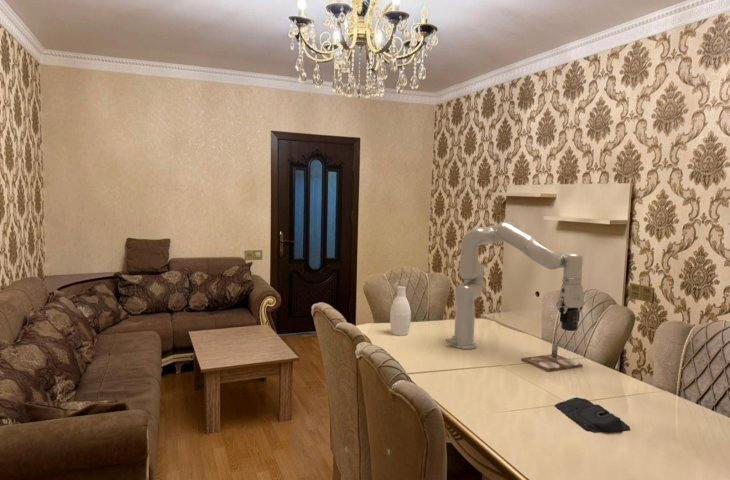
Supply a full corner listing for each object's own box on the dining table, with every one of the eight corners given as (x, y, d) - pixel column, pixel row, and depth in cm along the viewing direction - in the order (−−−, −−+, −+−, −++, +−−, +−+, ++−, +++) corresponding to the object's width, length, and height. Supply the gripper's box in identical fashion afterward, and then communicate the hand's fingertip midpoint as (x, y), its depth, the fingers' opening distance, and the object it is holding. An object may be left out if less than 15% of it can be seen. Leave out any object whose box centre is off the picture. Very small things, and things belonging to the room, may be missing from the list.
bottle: (408, 337, 252) (410, 289, 251) (387, 335, 255) (389, 287, 253) (411, 332, 263) (413, 286, 262) (391, 330, 266) (392, 284, 264)
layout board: (548, 371, 204) (549, 355, 204) (521, 360, 219) (522, 344, 218) (582, 367, 212) (583, 351, 212) (554, 356, 227) (555, 341, 227)
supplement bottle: (574, 327, 217) (576, 301, 216) (579, 331, 210) (581, 304, 209) (558, 327, 217) (560, 300, 216) (563, 330, 210) (565, 303, 210)
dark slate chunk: (590, 404, 171) (591, 391, 171) (634, 433, 150) (635, 418, 149) (550, 406, 169) (551, 392, 169) (589, 435, 147) (590, 420, 147)
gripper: (563, 283, 205) (561, 324, 206) (593, 282, 212) (590, 322, 213) (550, 280, 212) (548, 320, 213) (579, 279, 219) (577, 318, 220)
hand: (569, 321), depth 213 cm, fingers closed on supplement bottle, 6 cm apart
